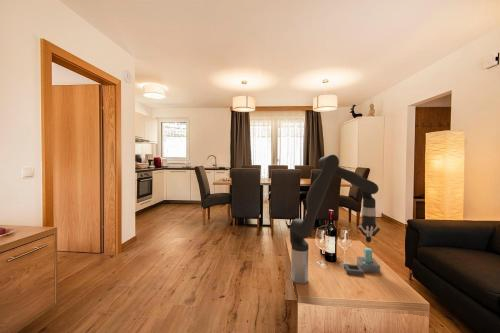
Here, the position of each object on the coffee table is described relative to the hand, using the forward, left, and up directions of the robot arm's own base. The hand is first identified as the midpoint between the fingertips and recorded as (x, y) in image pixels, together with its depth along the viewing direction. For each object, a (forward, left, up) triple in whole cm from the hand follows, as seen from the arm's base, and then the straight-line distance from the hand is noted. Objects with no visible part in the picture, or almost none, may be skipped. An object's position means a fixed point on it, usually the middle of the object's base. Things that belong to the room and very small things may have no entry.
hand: (368, 242), depth 149 cm
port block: (0, 0, -16) cm, 16 cm away
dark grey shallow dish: (-7, +10, -16) cm, 20 cm away
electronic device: (+18, +22, -16) cm, 33 cm away
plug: (0, 0, -16) cm, 16 cm away
